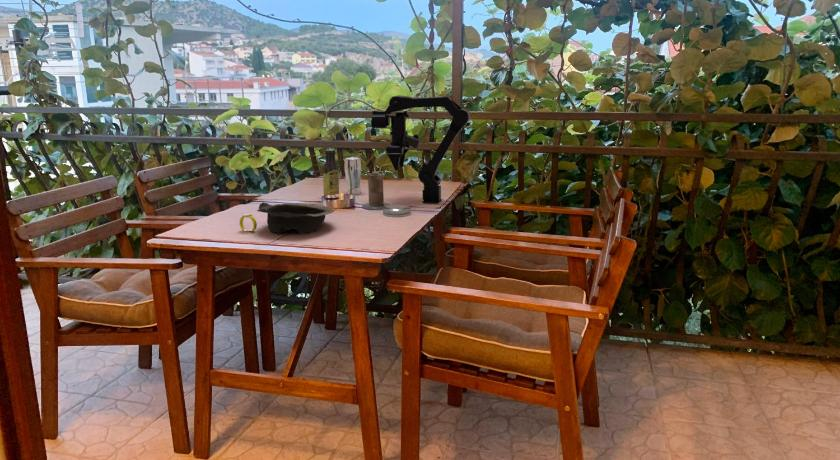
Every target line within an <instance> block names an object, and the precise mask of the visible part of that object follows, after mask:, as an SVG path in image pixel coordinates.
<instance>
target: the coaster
mask: <svg viewBox="0 0 840 460" xmlns="http://www.w3.org/2000/svg"><path fill="white" fill-rule="evenodd" d="M389 205H391V204H390V203H387V202H384V206H379V207H371V206H370V205H369V202H367V203H366V202H365V203H364V204H362V205H361V209H364V210H368V211H380V210H382V211H383V207H385V206H389Z"/></svg>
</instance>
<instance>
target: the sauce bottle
mask: <svg viewBox="0 0 840 460" xmlns="http://www.w3.org/2000/svg"><path fill="white" fill-rule="evenodd" d="M324 154H325V163H324V164H323V166H322V169H323V171H322V175H323V176H322V178H323V195H324V196H326V195H335V194H339V195H340V183H339V182H340V180H339V177H340V175H339V174H340V173H339V168H338V164H337V162H336V149H325V150H324ZM324 196H323V197H324Z"/></svg>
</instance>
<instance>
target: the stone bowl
mask: <svg viewBox="0 0 840 460" xmlns="http://www.w3.org/2000/svg"><path fill="white" fill-rule="evenodd" d="M256 212H260V213H264V214H265V213H266V214H267V217H266V223H267V228H268V230H269V231H270V232H271V233H277V234H278V233H279V234H280V233H286V232H288V231H290V230H293V229H295V230H296V231H297V232H298V233H299V234H301V233H304V234H310V233H312V232H316V231H318V230H319V229H320V228H321V227H322V226H323V224H324V222H325V220H326V215H329V214H333V213H334V212H335V210H334V209H333V208H331V207H329V206H326V205H318V204H310V203H299V202H298V203H293V202H292V203H291V202H285V203H277V204H269V203H267V202H264V201H263V202H262V203H259V206H258V209H257V210H256Z"/></svg>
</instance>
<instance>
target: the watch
mask: <svg viewBox="0 0 840 460" xmlns="http://www.w3.org/2000/svg"><path fill="white" fill-rule="evenodd" d="M244 218H249V219H250V220H251V221H252V225H253V227H252V231H253V232H254V230H255V231H256V229H257V226H258V225H257V221H256V220H257V219H256V217H254V215H252V213H243V214H242V216H241V217H240V219H239V226H240V229H241V230H242V231H243V230H244V229H247V228H246V227H245V225H244Z"/></svg>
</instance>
